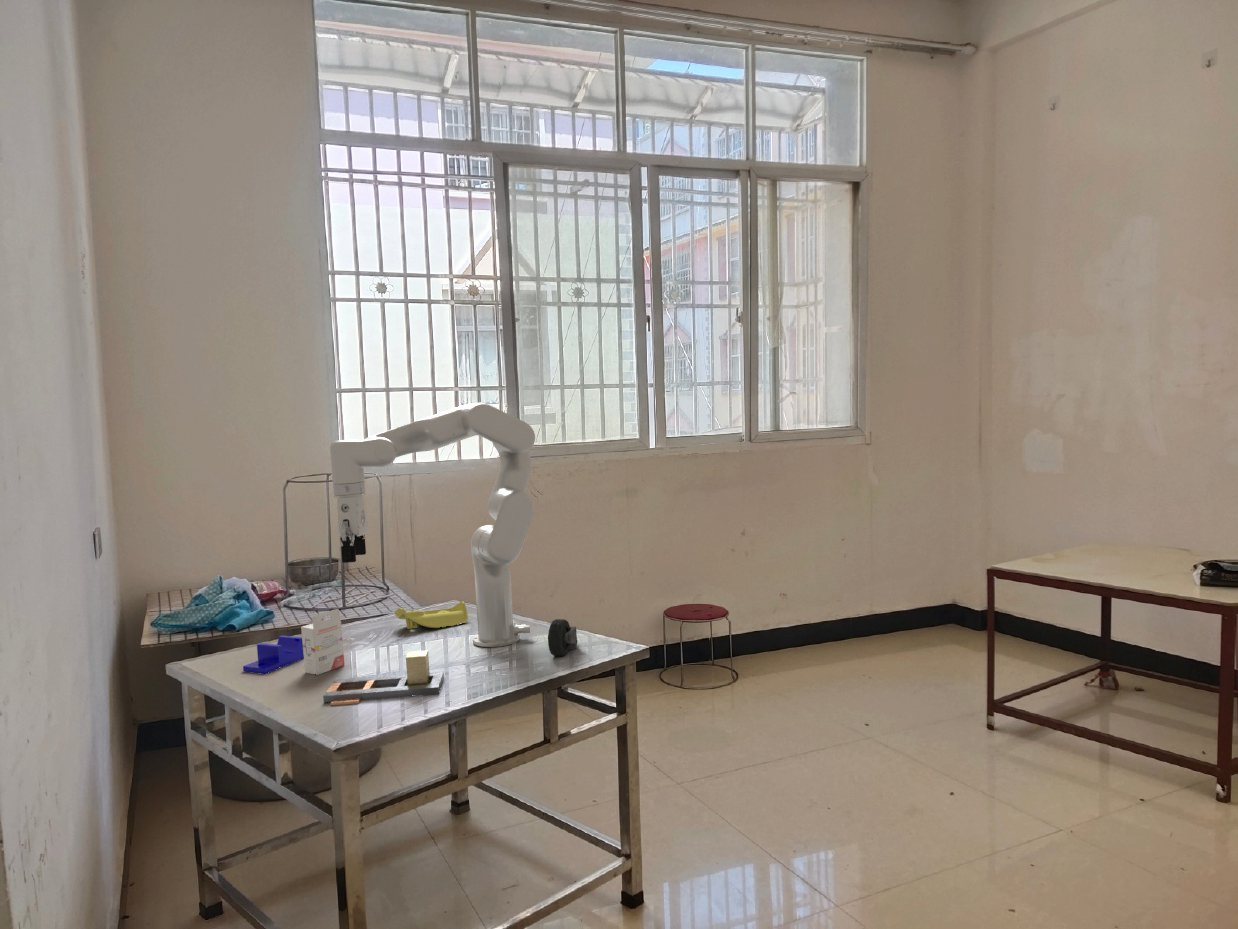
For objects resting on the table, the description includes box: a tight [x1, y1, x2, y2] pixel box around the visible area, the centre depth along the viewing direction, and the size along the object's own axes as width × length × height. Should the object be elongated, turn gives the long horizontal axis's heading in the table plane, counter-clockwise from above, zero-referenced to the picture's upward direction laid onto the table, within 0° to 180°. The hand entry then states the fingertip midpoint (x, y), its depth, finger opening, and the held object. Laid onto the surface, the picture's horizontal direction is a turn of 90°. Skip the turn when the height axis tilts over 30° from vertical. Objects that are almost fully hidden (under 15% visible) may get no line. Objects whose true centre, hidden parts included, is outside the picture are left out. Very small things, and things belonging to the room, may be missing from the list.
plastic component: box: [393, 600, 469, 630], centre depth 246 cm, size 20×7×10 cm
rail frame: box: [322, 671, 445, 706], centre depth 190 cm, size 25×13×2 cm, turn 96°
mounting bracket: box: [242, 635, 304, 675], centre depth 217 cm, size 18×7×6 cm, turn 157°
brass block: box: [405, 650, 431, 686], centre depth 192 cm, size 4×4×8 cm
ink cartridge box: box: [300, 608, 345, 676], centre depth 209 cm, size 9×5×15 cm, turn 148°
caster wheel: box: [547, 618, 578, 657], centre depth 214 cm, size 6×10×15 cm
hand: (354, 558), depth 208 cm, fingers open, 9 cm apart
